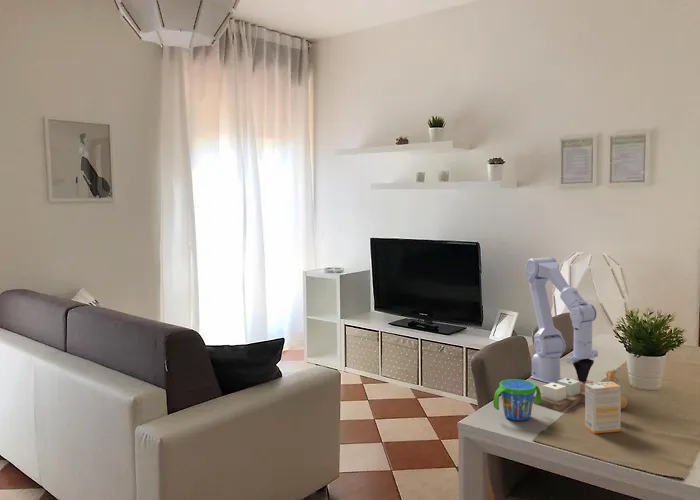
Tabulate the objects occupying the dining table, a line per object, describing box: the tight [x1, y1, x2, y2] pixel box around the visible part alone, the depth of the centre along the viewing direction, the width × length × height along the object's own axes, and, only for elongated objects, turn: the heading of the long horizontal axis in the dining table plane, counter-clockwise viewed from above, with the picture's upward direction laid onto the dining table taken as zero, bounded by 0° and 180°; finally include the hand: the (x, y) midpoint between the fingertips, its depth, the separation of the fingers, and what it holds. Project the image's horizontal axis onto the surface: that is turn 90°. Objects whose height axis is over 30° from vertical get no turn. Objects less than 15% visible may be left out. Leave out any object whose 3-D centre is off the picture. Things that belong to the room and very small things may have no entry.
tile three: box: [575, 378, 595, 392], centre depth 193 cm, size 5×5×4 cm
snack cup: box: [492, 378, 542, 422], centre depth 174 cm, size 16×10×10 cm
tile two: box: [557, 377, 580, 397], centre depth 189 cm, size 5×5×4 cm
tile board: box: [533, 391, 585, 412], centre depth 189 cm, size 24×10×2 cm, turn 125°
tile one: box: [542, 382, 566, 402], centre depth 184 cm, size 5×5×4 cm
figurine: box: [606, 369, 628, 410], centre depth 179 cm, size 8×6×12 cm
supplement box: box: [584, 381, 622, 435], centre depth 163 cm, size 8×5×13 cm, turn 97°
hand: (582, 381), depth 193 cm, fingers closed, pressing on tile three
